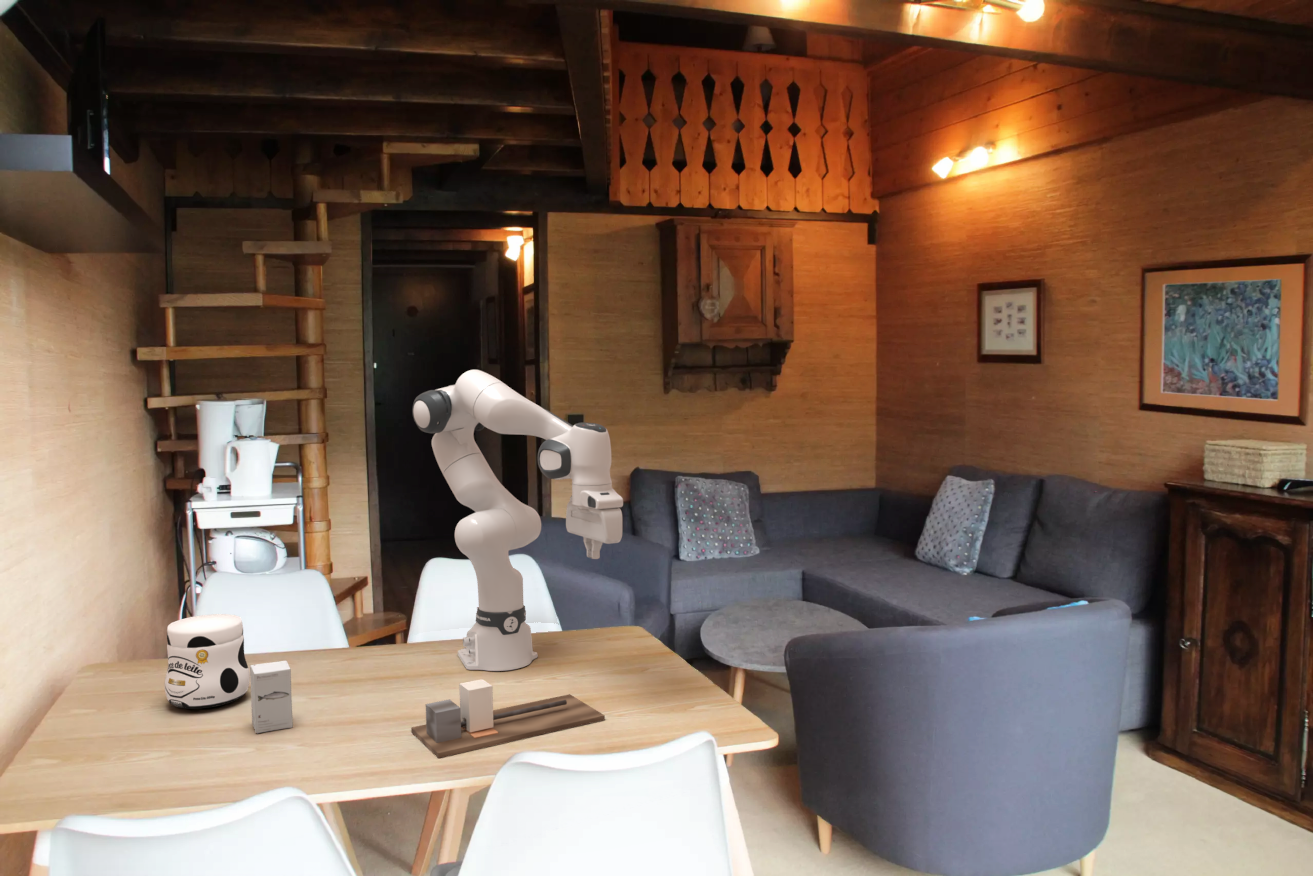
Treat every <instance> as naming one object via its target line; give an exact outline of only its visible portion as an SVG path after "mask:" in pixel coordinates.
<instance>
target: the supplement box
mask: <svg viewBox="0 0 1313 876" xmlns="http://www.w3.org/2000/svg"><path fill="white" fill-rule="evenodd" d="M291 672H292V671H291V667H290V665H289V663H288V660H281V661H272V662H264V663H256V664H250V665H249V673H250V681H249V683H250V699H251V700H250V701H251V724H252V726H253V729H255V730H254V732H255V734H256V733H257V734H260V733H265V732H271V731H278V730H284V729H285V730H286V729H292V728H293V726H294V724H293V723H294V722H293V720H294V719H293V703H292V697H293V696H292V673H291Z"/></svg>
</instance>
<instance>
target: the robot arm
mask: <svg viewBox="0 0 1313 876" xmlns="http://www.w3.org/2000/svg"><path fill="white" fill-rule="evenodd" d="M411 412H412V417H413V421H414V422H415V424H416V426H417V428H418V429H419V430H420V431H421V432H424V433H427V434H433V436H432V439H431V447H432V451H433V455H434V457H435V460H436V462H437V465H438V467H439V469H440V471H441V473H442V476H443V477H444V479H445V481H446V483H447V484H448V486H449V488H450V490H451V491H452V494H453V495H454V497H455V499H456V501H458V502H459V503H460V504H461V505H463V506H464V507H467V508H469V509H470V510H472V511H474V512H473V513H471V514H469V515H467V516H465V517H463V518H462V519H460V520H459V521H458V523H457V524H456V526H455V528H454V529H455V530H454V541H455V544H456V547H457V548H458V549H459V551H460V552H461V553H462V554H463V555H465V556H466V557H467V558H468V559H469V561H470V563H471V565H472V567H473V570H474V571H475V572H474V573H475V575H476V582H477V583H476V584H477V594H478V595H477V597H478V606H477V607H476V613H475V623H474V624H473V626H471V627H470V629H469V630H468V631H467V632H466V636H465V637H463V638H462V645H463V648H461V649H459V650H457V657H458V658H459V659H460V661H461V662H462V665H463V666H464V668H465V669H466V670H471V671H475V670H480V671H489V672H490V671H491V672H500V671H501V672H502V671H503V672H504V671H513V670H517V669H520V668H521V669H522V668H524V667H526V666H528V665H530V664H531V663H532V661H533V660H535V659H537V658H538V652H536V651H533V650H534V649H533V638H532V631H531V626H530V625H529V624H528V623H526V619H527V618H526V617H527V616H526V614H527V610H526V606H525V605H524V578H523V574H522V573H521V572H520V571H519V570H518V569H516V568H515V567H513V565H512V563H511V560H510V555H509V551H512V550H517V549H520V548H524V547H526V546H527V545H529V544H531V543H533V542H534V541H535V540H536V539H538V538H539V536H540V534H541V532H542V520H541V517H540V515H539V513H538V512H537V511H536V509H535V508H533V507H531V506H530V505H527V504H525V503H523V502H521V501H520V500H519V499H517V497H515V496H514V495H513V494H512V493H511V492H510V491H509V490H508V489H507V488H505V486H504V485H503V484H502V483H501V482H500V480H499V479H498V478H497V476H496V474H495V473H494V472H493V470H492V468H491V467H490V465H489V463H488V461H487V460H486V458H485V456H484V455H483V453H482V451H481V450H480V447H479V446H478V444H477V443H476V441H475V435H474V433H475V431H476V432H479V431H483V429H484V428H487V429H488V430H490V431H493V432H495V433H497V434H500V435H522V436H523V435H524V436H532V437H533V436H534V437H537V438H542V439H544V441H543V442H542V443H541V445H540V447H539V448H538V452H537V465H538V468H539V470H540V473H541V474H543V475H544V476H545V477H546V478H547V479H550V480H557V481H559V480H566V479H571V496H570V497H569V501H568V502H567V505H566V513H565V514H566V515H565V528H566V532H567V533H569V534H573V535H576V536H580V537H582V539H583V544H584V547H585V549H586V558H589V559H592V560H598V559H600V556H601V555H600V554H601V553H600V551H601V549H602V546H603V545H604V544H607V545H610V544H618V543H620V542H621V540H622V537H623V512H622V510H621V508H622V507H623V506H624V498H623V497H622V496H621V495H620V494H619V493H617V491H616V489H614V488H613V481H612V477H611V466H612V446H611V445H612V444H611V438H610V434H609V431H608V429H607V428H606V427H605V426H604V425H602V424H600V423H596V422H595V423H594V422H586V421H585V422H578V423H575V424H574V425H573V424H571V423H569V422H568V421H566V420H565V419H563V418H562V417H559V416H558V415H556V413H553V412H552V411H550V410H548V409H546V408H544V407H542V406H540V405H538V404H536V403H535V402H533V401H531V400H529V399H528V398H526V397H525V396H523V395H522V394H520V393H519V392H517V391H516V390H514V389H512V387H509V386H508V384H506V383H504V382H503V381H501V380H500V379H498V378H496V377H495V376H493V375H491V374H489V373H487V372H485V371H483V370H480V369H470V370H467V371H465V372H464V373H462V374H461V375H460V376H459V377H458V378H457V380H456V382H455V384H450V385H448V386H444V387H441V388H436V389H430V390H427V391H424V392H422V393H420V394H419V395H417V396H416V397H415V399H414V401H413V404H412V409H411Z"/></svg>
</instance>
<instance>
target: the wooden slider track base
mask: <svg viewBox="0 0 1313 876" xmlns="http://www.w3.org/2000/svg"><path fill="white" fill-rule="evenodd" d="M605 716H606V715H605V714H603V713H601V712H600V711H599V710H596V708H593V707H591V706H590V705H588V704H587V703H585V702H583V701H582V700H581V699H579V698H577V697H575V696H573V694H570V693H569V694H564V695H560V696H555V697H549V698H545V699H540V700H536V701H532V702H524V703H522V704H516V705H512V706H511V705H510V706H508V707H507V706H506V707H502V708H497V709H493V728H488V729H483V730H479V731H474V732H469V731H468V730H467V727H464V726H466V721H463V722H461V711H460V705H457V703H455V702H453V701H452V700H451V699H446V700H445V699H444V700H441V701H439V700H438V701H434V702H429V703H426V704H425V724H420V725H417V726H411V727H410V731H411V733H412V734H413V736H415V737H416V739H418V740H419V741H420V742H421V743H422V745H424V746H425V747H426V748H427V749H428V750H429V751H430V752H431V753H432V754H433V755H434V754H435V755H436V756H435V755H434V756H435V757H436V758H437V759H441V758H445V757H449V756H454V755H458V754H462V753H467V752H472V751H476V750H480V749H485V748H489V747H492V746H493V747H494V746H498V745H502V744H506V743H510V742H515V741H519V740H524V739H528V738H532V737H537V736H541V735H546V734H549V733H553V732H559V731H563V730H567V729H571V728H575V727H580V726H584V725H589V724H593V723H597V722H598V723H599V722H601V721H605V718H606V717H605Z"/></svg>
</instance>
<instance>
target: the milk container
mask: <svg viewBox="0 0 1313 876" xmlns="http://www.w3.org/2000/svg"><path fill="white" fill-rule="evenodd" d="M166 641H167V643H166V644H167V645H166V650H167V670H166V674H165V677H164V692H165V696H166V699H167V701H168V703H169V704H170V705H173V706H174V707H176V708H179V709H185V710H187V709H188V710H190V709H192V710H193V709H195V710H201V709H208V708H209V709H210V708H211V709H212V708H215V707H221V706H223V705H227V704H230V703H232V702H233V703H234V702H235V701H237V700H239V699H240V698H242V697H244V696H245V694H246V693H247V692H248V690H249V687H250V667H249V666H248V665H249V664H248V663H247V659H246V656H245V637H244V626H243V621H242V617H241V616H238V615H235V614H227V613H218V614H217V613H216V614H213V613H212V614H202V615H197V616H190V617H189V616H188V617H186V618H182V619H178V620H176V621H173V622H171V623H170V624H168V625H167V629H166Z"/></svg>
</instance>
